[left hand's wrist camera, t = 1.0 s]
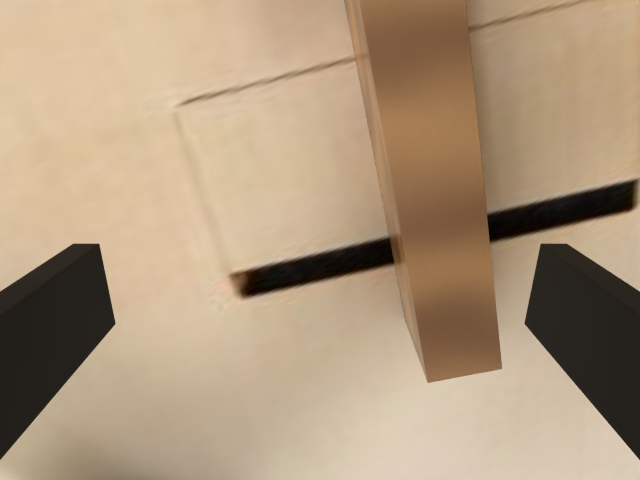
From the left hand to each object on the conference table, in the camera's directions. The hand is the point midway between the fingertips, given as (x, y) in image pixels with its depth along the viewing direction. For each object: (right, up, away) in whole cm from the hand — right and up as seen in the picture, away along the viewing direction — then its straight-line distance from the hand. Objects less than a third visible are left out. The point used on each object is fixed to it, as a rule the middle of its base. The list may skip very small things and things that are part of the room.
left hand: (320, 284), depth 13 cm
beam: (+1, +30, +9) cm, 32 cm away
